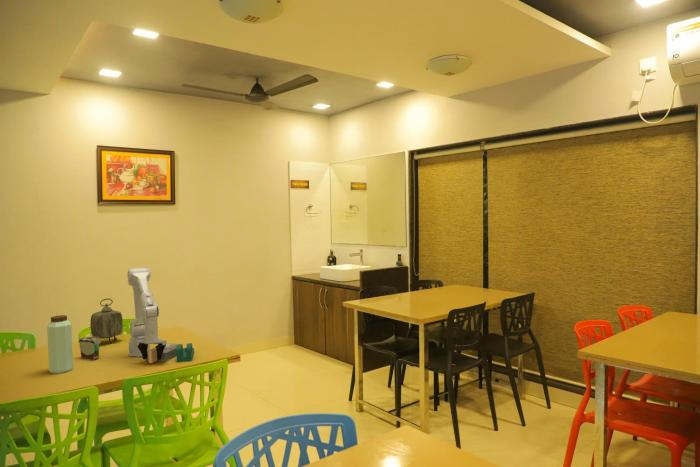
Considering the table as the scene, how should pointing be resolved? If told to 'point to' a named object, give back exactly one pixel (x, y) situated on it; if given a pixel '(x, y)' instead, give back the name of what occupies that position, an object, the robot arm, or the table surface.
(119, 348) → the table surface
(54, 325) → the water bottle
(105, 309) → the tabletop clock
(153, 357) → the orange wooden slat
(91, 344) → the food container
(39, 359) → the table surface
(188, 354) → the bracket
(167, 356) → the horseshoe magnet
